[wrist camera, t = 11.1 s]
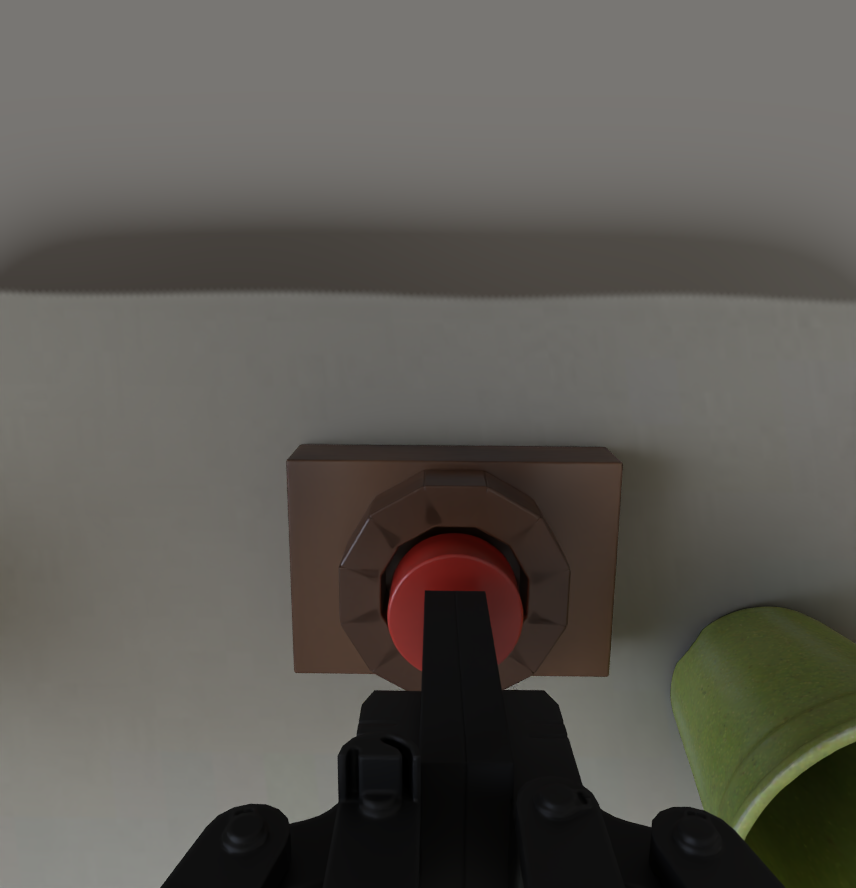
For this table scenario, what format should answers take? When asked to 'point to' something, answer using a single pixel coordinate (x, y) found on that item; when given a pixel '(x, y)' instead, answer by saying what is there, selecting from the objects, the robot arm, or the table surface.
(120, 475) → the table surface
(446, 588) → the button
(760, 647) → the plant pot
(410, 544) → the button block
